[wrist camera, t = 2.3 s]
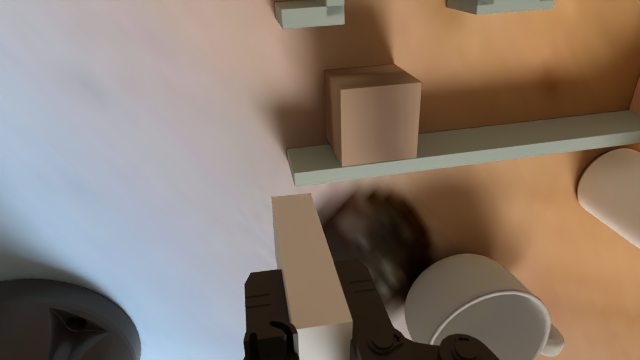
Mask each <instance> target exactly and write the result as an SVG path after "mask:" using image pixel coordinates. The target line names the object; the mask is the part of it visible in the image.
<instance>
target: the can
mask: <svg viewBox="0 0 640 360" xmlns="http://www.w3.org/2000/svg"><path fill="white" fill-rule="evenodd" d="M577 195H578V201H579V203H580V205H581V206H582V207H583V208H584V209H586V210H587V211H588V212H589V213H591V214H592V215H594V216H595V217H596V218H598V219H599V220H600V221H602V222H603V223H605V224H606V225H607V226H609V227H610V228H611V229H613V230H614V231H616V232H617V233H618V234H620V235H621V236H623V237H624V238H625V239H627V240H628V241H630V242H631V243H632V244H634V245H635V246H637V247H638V248H639V249H640V152H638V151H636V150H633V149H629V148H621V149H616V150H612V151H609V152H606V153H604V154H602V155H601V156H599V157H598V158H596V159H595V160H594V161H593V162H591V163H590V164H589V166H588V167H587V168H586V169H585V171H584V172H583V174H582V175H581V177H580V180H579V183H578V188H577Z"/></svg>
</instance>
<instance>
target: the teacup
mask: <svg viewBox="0 0 640 360" xmlns="http://www.w3.org/2000/svg"><path fill="white" fill-rule="evenodd" d="M405 320H406V324H407V327H408V331H409V333H410V335H411V338H412V340H413V341H414V342H418V343H423V344H431V345H440V343H441V341H442V339H444V338H445V337H447V336H448V335H452V334H457V333H458V334H466V335H470V336H472V337H474V338H477V339H478V340H480V341H481V342H482V343H484V344H485V345H486V346H487V347H488V348H489V349H490V350H491V351H492V352H493V353H494V354H495V355H496V356H497V357H498V358H499V359H500V360H536V359H537V357H538V356H539V354H542V355H545V356H556V355H557V354H559V353H560V352H561V350H562V349H563V346H564V338H563V336H562V335H561V333H560V332H559V330H558V329H557V328H555V327H554V326H553V325H552V324H551V321H550V315H549V312H548V310H547V308H546V306H545V305H544V303H543V302H542V301H541V300H540V299H539V298H538V297H536V296H535V295H533V294H532V293H531V292H530V291H529V290H528V289H527V288H526V287H525V286H524V285H523V284H522V283H521V282H520V281H519V280H518V279H517V278H516V277H515V276H514V275H512V274H511V273H510V272H509V271H508V270H507V269H506V268H504V267H503V266H502V265H500V264H499V263H498V262H496V261H494V260H492V259H490V258H488V257H485V256H482V255H477V254H458V255H453V256H449V257H446V258H444V259H441V260H439V261H437V262H436V263H434V264H432V265H431V266H430V267H428V268H427V269H426V270H424V271H423V272H422V273H421V274H420V275H419V276H418V278H417V279H416V280H415V281H414V283H413V285H412V286H411V288H410V290H409V292H408V295H407V298H406V302H405Z"/></svg>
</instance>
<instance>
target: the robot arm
mask: <svg viewBox="0 0 640 360" xmlns="http://www.w3.org/2000/svg"><path fill="white" fill-rule="evenodd" d="M271 198H272V212H273V227H274V241H275V255H276V262H277V270H269V271H261V272H253V273H250V275H249V277H248V279H247V281H246V283H245V307H246V333H245V337H244V349H245V357H244V360H500V359H499V358H498V357H497V356H496V355H495V354H494V353H493V352H492V351H491V350H490V349H489V348H488V347H487V346H486V345H485V344H484V343H482V342H481V341H480V340H478V339H477V338H474V337H472V336H470V335H466V334H458V333H457V334H452V335H448V336H447V337H445V338H444V339H442V341H441V343H440V345H431V344H423V343H418V342H414V341H411V340H409V339H406V338H405V337H404V336H403V334H402V333H401V332H400V331H398V330H397V329H395V328H394V327H393V325H392V323H391V321H390V319H389V316H388V314H387V312H386V309H385V307H384V305H383V302H382V300H381V298H380V296H379V293H378V291H377V290H376V286H375V284H374V282H373V280H372V277H371V275H370V272H369V270H368V268H367V267H366V266H365V265H364V264H363V263H362V262H360V261H359V260H358V259H351V260H343V261H335V262H333V260H332V257H331V254H330V251H329V248H328V245H327V241H326V238H325V235H324V232H323V229H322V226H321V223H320V220H319V217H318V214H317V211H316V208H315V205H314V202H313V199H312V196H311V193H308V194H298V195H288V196H277V197H271ZM140 356H141V343H140V338H139V335H138V332H137V330H136V328H135V326H134V324H133V323H132V321H131V320H130V319H129V317H128V316H127V315H126V314H125V313H124V312H123V311H122V310H121V309H120V308H119V307H117V306H116V305H115V304H114V303H112V302H111V301H109V300H108V299H106V298H104V297H102V296H101V295H99V294H97V293H94V292H92V291H90V290H87V289H85V288H82V287H79V286H76V285H72V284H68V283H63V282H58V281H51V280H39V279H23V280H11V281H5V282H0V360H140Z"/></svg>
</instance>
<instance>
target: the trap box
mask: <svg viewBox="0 0 640 360" xmlns="http://www.w3.org/2000/svg"><path fill="white" fill-rule="evenodd" d="M554 1H555V0H447V7H448V8H452V9H456V10H460V11H464V12H468V13H472V14H476V15H478V14H492V13H505V12H519V11H532V10H546V9H553V6H554ZM274 3H275V15H276V20H277V21H278V23H279V24H280V26H281V27H282V28H283V29H288V28H302V27H315V26H329V25H342V24H345V18H344V0H300V1H285V2H274ZM635 143H640V76H639V79H638V82H637V85H636V89H635V92H634V95H633V98H632V101H631V105H630V108H629V110H625V111H616V112H607V113H598V114H590V115H581V116H572V117H563V118H555V119H546V120H537V121H528V122H520V123H511V124H502V125H493V126H485V127H476V128H467V129H458V130H450V131H441V132H432V133H424V134H418V142H417V156H416V158H410V159H402V160H394V161H385V162H377V163H369V164H360V165H352V166H344V167H342V166H341V164H340V162H339V160H338V158H337V156H336V155H335V153H334V151H333V149H332V147H331V145H330V144H327V145H319V146H310V147H301V148H292V149H287V156H288V163H289V167H290V170H291V174H292V177H293V181H294V184H295V187H298V186H306V185H314V184H322V183H330V182H337V181H345V180H353V179H361V178H369V177H377V176H384V175H392V174H400V173H408V172H416V171H424V170H432V169H439V168H447V167H455V166H463V165H471V164H479V163H486V162H494V161H502V160H510V159H518V158H526V157H533V156H541V155H549V154H557V153H565V152H573V151H580V150H588V149H596V148H604V147H612V146H620V145H628V144H635Z"/></svg>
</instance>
